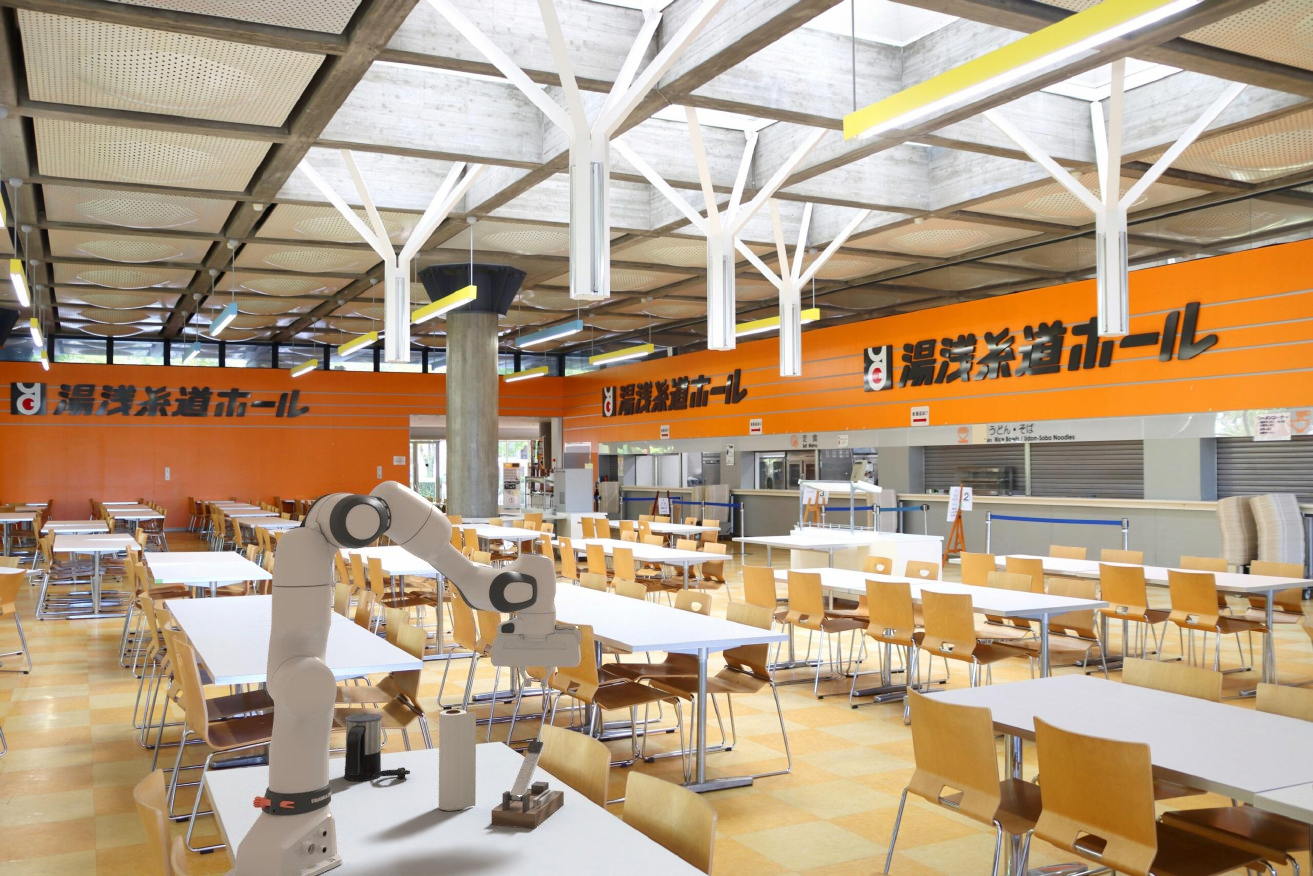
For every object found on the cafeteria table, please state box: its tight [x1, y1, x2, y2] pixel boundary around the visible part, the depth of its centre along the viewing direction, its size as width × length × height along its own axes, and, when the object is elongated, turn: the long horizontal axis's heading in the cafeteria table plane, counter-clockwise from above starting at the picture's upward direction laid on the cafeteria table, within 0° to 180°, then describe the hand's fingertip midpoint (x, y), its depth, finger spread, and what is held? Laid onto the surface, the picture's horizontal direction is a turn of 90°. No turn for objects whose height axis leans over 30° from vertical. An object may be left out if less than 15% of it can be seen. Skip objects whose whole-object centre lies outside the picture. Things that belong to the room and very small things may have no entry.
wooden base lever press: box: [490, 780, 565, 829], centre depth 224 cm, size 17×10×6 cm, turn 164°
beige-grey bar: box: [508, 740, 546, 802], centre depth 223 cm, size 16×3×2 cm
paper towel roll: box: [438, 709, 477, 812], centre depth 229 cm, size 7×6×21 cm
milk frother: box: [343, 713, 411, 782], centre depth 253 cm, size 14×16×15 cm
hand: (536, 686), depth 229 cm, fingers closed
